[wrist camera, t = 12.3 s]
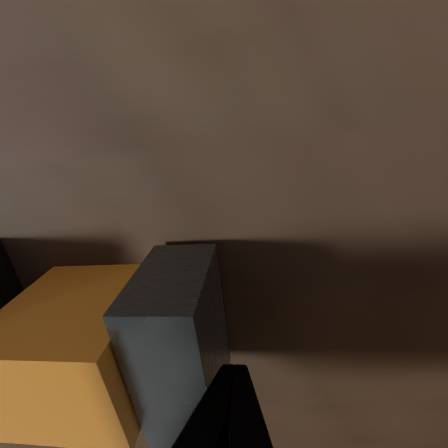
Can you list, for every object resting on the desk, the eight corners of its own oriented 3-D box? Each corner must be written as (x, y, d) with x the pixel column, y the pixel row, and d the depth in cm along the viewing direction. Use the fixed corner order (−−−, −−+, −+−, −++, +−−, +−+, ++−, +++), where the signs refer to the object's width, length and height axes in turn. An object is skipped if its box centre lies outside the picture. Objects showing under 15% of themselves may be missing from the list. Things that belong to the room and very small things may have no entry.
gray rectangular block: (230, 356, 13) (218, 455, 9) (179, 355, 13) (149, 450, 10) (216, 243, 11) (192, 317, 7) (154, 245, 11) (102, 316, 7)
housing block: (175, 333, 13) (132, 452, 9) (81, 332, 14) (-3, 441, 10) (159, 262, 12) (96, 363, 7) (54, 266, 13) (-62, 358, 8)
